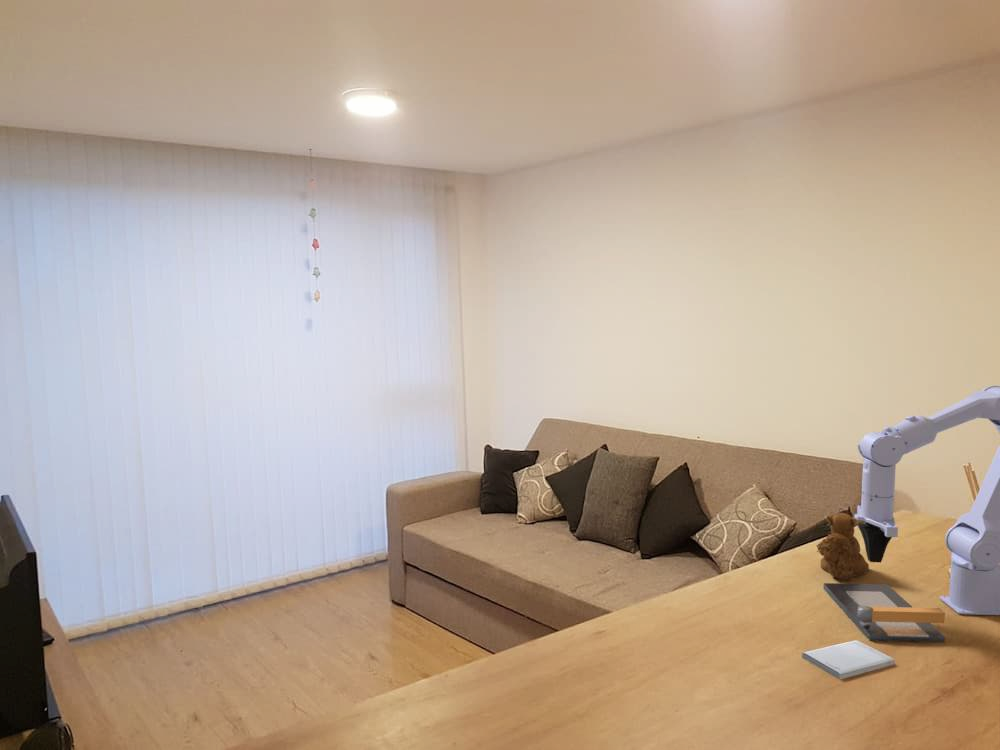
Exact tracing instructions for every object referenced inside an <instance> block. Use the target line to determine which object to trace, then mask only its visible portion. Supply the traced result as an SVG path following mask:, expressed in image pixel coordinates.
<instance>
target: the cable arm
mask: <svg viewBox="0 0 1000 750" xmlns="http://www.w3.org/2000/svg"><path fill="white" fill-rule="evenodd" d="M945 616H946V613H945V612H944V611H943V609H941V608H939V607H913V608H911V607H869V606H858V615H857V618H858V619H859V620H860V621H864V622H912V623H931V624H945Z"/></svg>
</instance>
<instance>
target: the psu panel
mask: <svg viewBox="0 0 1000 750" xmlns="http://www.w3.org/2000/svg"><path fill="white" fill-rule="evenodd" d="M823 590H824V591H825V592H826V593H827V595H829V597H830V598H831V599H832V600H833V601H834V603H835V604H836V605H837V606H838V607H839V608H840V609H841V610H842V611H843V613H844V614H845V615H846V616H847V617H848V619H850V620H851V621H852V623H853V624H854V625H855V626H856V628H858V629H859V631H860V630H861V634H862V635H864V636H865V638H867V639H869V640H878V641H877V642H902V641H906V642H907V641H909V642H907V643H913V642H915V643H939V642H946V635H944V634H943V633H942V632H941V631H940V630H939V629H938V628H937V627H936V626H934V625H933V623H912V622H864V621H860V620H859V619H858V618H857V615H858V606H869V607H911V608H914V607H913V606H912V605H911V604H910V603H909V602H907V601H906V600H905V599H904V598H903V597H902V596H901V595H900V594H898V592H896V591H895V590H894V589H893V588H892V587H891V586H889V585H888V584H879V583H878V584H875V583H836V582H835V583H832V582H830V583H828V582H824V583H823ZM869 640H868V641H869ZM879 640H880V641H879Z"/></svg>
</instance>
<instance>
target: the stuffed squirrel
mask: <svg viewBox="0 0 1000 750" xmlns="http://www.w3.org/2000/svg"><path fill="white" fill-rule="evenodd" d="M824 519H825V520H826V521H827V522H828V524H827V526H829V528H830V533H828V534H827V536H826V537H825V538H823V539H822V541H820V542H819V543H818V544H816V549H817V550H816V552H818V553H819V554H820V555H821V556H823V557H822V558H821V559H820V568H821V569H822V570H824V571H825V572H828V573H829V574H830V576H831V577H833V578H834V579H839V580H843V581H851V580H852V579H853V578H854V577H856V576H862V575H865V574H867V573H868V571H869V569H870V565H869V563H868V562H867V561H866V560H865V557H864V556H863V555H862V554H861V553H860V552H861V545H860V542H859V540H858V539H857V538H856V536H855V528H856V524H857V522H858V521H859V520H857V519H855V518H854V516H851V515H850V514H848V513H846V512H837V513H836V514H833V515H832V516H830V515H825V517H824Z"/></svg>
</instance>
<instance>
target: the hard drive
mask: <svg viewBox="0 0 1000 750" xmlns="http://www.w3.org/2000/svg"><path fill="white" fill-rule="evenodd" d="M801 658H802V659H804V660H805V661H807V662H809V663H810V664H812V665H814V666H815V667H817V668H818V669H821V670H822V671H824V672H826V673H828V674H829V675H832V676H833V677H835V678H836V679H838V680H839V681H841V680H844V679H847V678H851V677H856V676H857V675H858V676H859V675H862V674H866V673H868V672H869V673H870V672H873V671H876V669H877V670H881V669H883V667H884V668H887V667H890V666H894V665H895V662H896V661H895V659H894V658H893V657H891V656H889V655H887V654H885V653H883V652H881V651H879V650H877V649H875V648H873V647H871V646H869V645H867V644H865V643H863V642H861V641H859V640H857V639H856V640H851V641H848V642H847V641H846V642H841V643H839V644H833V645H829V646H826V647H825V646H824V647H821V648H817V649H813V650H810V651H809V650H808V651H804V652H802V654H801ZM886 666H887V667H886ZM865 672H866V673H865Z"/></svg>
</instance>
